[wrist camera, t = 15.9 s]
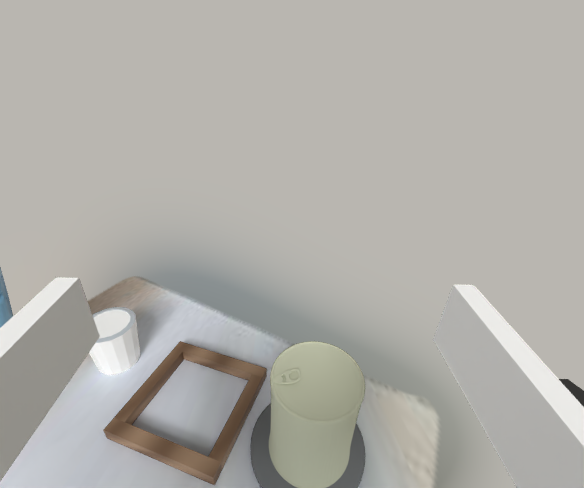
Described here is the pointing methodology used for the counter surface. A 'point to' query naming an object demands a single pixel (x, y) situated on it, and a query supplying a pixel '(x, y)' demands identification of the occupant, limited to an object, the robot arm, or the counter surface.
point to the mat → (273, 481)
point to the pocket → (175, 453)
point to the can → (313, 413)
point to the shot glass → (115, 340)
